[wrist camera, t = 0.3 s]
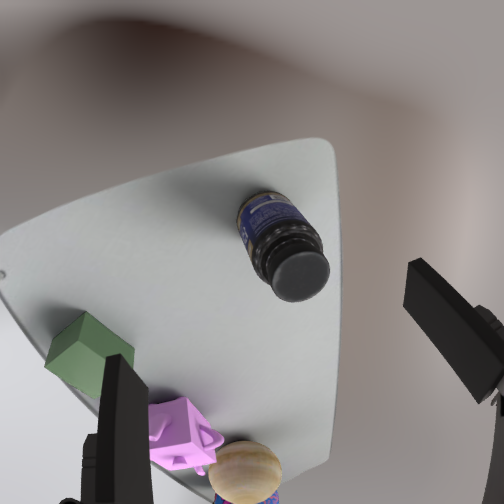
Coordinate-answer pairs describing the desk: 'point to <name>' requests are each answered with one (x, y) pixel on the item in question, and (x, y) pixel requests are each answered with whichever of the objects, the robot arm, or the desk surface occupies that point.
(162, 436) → the teapot
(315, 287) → the pill bottle
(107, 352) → the block
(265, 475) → the decorative ball
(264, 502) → the ceramic pot
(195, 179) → the desk surface
